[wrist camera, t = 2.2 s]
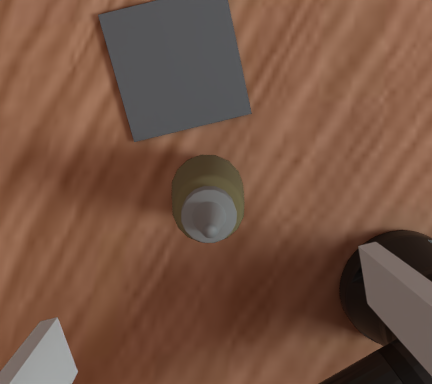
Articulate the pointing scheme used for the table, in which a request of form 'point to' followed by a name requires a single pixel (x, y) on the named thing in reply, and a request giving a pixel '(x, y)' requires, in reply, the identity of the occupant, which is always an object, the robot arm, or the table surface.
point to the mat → (175, 65)
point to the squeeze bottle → (207, 198)
